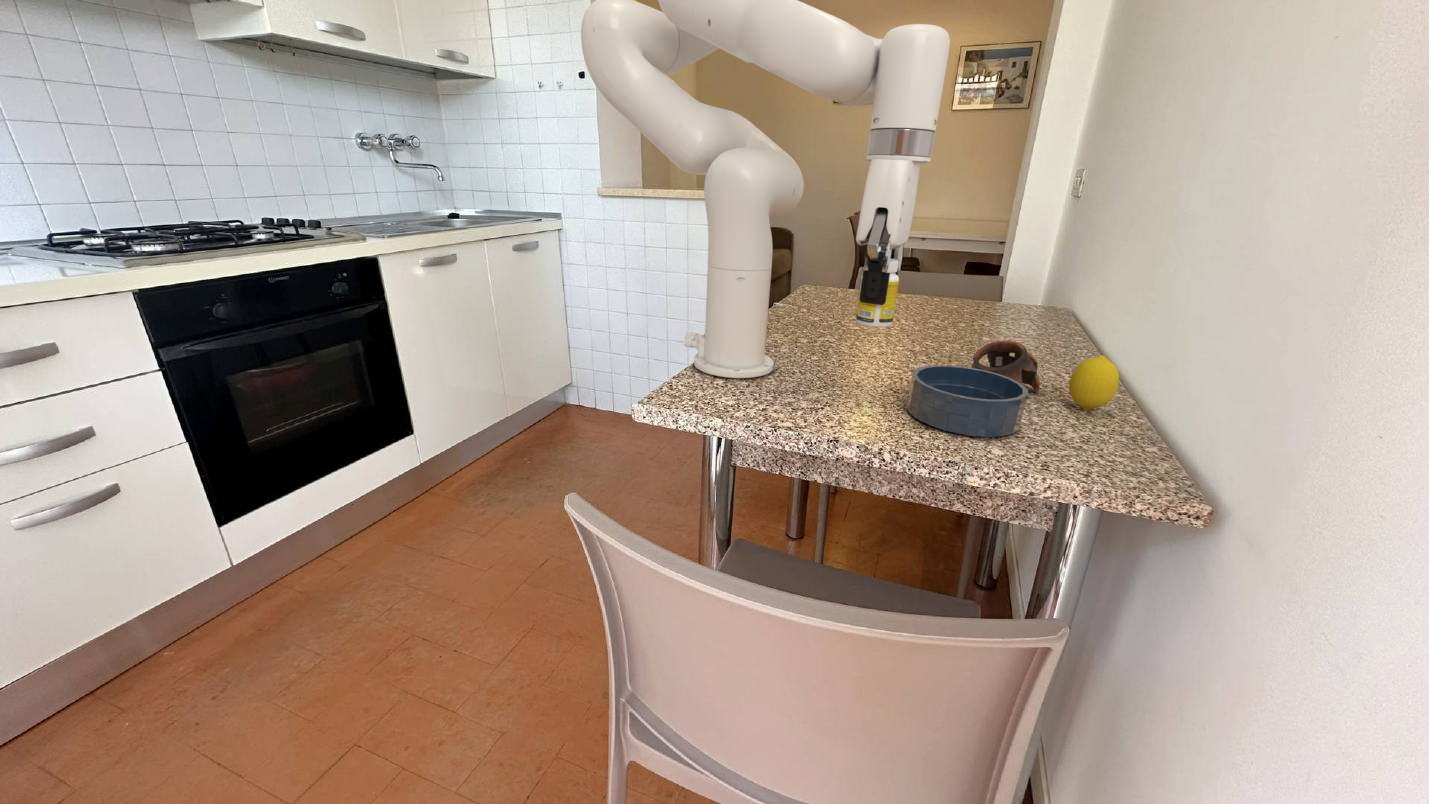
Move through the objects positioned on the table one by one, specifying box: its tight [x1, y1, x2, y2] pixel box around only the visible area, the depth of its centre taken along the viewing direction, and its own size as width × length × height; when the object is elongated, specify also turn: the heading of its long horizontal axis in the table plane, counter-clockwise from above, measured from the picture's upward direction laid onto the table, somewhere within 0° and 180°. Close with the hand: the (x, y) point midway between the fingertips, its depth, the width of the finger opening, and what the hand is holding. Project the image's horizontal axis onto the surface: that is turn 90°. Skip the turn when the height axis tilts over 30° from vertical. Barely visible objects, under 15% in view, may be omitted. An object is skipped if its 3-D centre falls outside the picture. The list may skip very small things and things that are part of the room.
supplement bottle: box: [855, 258, 900, 328], centre depth 75 cm, size 5×5×8 cm
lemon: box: [1068, 354, 1120, 412], centre depth 78 cm, size 6×6×8 cm
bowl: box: [906, 364, 1029, 438], centre depth 74 cm, size 14×14×5 cm
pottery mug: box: [971, 339, 1041, 395], centre depth 86 cm, size 12×10×8 cm
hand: (877, 298), depth 75 cm, fingers closed on supplement bottle, 4 cm apart
